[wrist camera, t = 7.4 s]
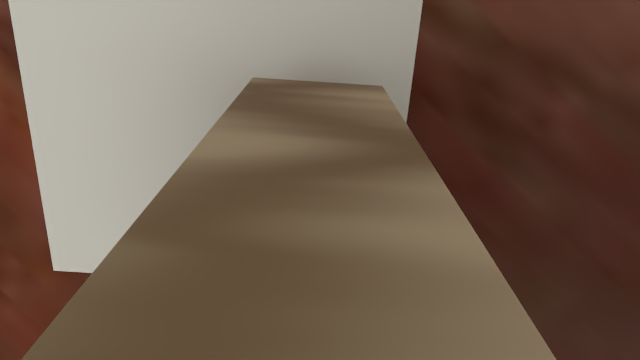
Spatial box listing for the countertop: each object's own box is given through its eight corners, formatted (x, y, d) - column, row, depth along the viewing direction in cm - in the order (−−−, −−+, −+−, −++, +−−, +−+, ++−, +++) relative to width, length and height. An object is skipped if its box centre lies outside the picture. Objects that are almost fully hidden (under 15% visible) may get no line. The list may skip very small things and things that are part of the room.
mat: (422, -20, 18) (425, -21, 18) (382, 284, 24) (383, 291, 23) (9, -49, 18) (0, -50, 18) (59, 263, 23) (53, 270, 23)
